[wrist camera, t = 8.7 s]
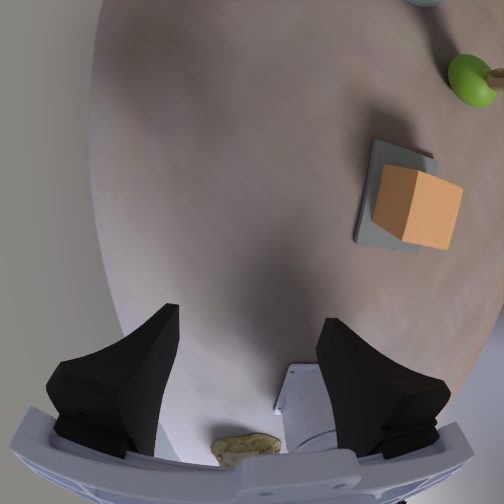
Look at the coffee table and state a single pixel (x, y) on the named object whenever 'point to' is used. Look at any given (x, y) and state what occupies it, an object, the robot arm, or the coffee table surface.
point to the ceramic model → (244, 448)
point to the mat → (379, 156)
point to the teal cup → (425, 2)
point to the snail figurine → (475, 80)
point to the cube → (417, 206)
